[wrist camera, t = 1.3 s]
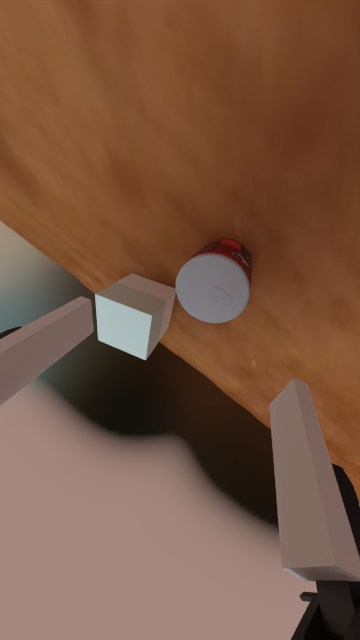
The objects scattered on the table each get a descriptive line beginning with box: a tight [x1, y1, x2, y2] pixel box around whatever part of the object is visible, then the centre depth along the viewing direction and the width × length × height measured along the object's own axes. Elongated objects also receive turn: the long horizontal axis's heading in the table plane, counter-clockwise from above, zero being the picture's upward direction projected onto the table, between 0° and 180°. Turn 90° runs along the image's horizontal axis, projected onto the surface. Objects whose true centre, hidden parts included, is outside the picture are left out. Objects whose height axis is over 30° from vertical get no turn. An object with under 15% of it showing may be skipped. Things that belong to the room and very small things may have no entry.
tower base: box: [117, 274, 176, 342], centre depth 35 cm, size 9×9×5 cm
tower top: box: [95, 282, 166, 360], centre depth 31 cm, size 9×9×5 cm
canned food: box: [176, 239, 251, 323], centre depth 24 cm, size 8×8×11 cm
